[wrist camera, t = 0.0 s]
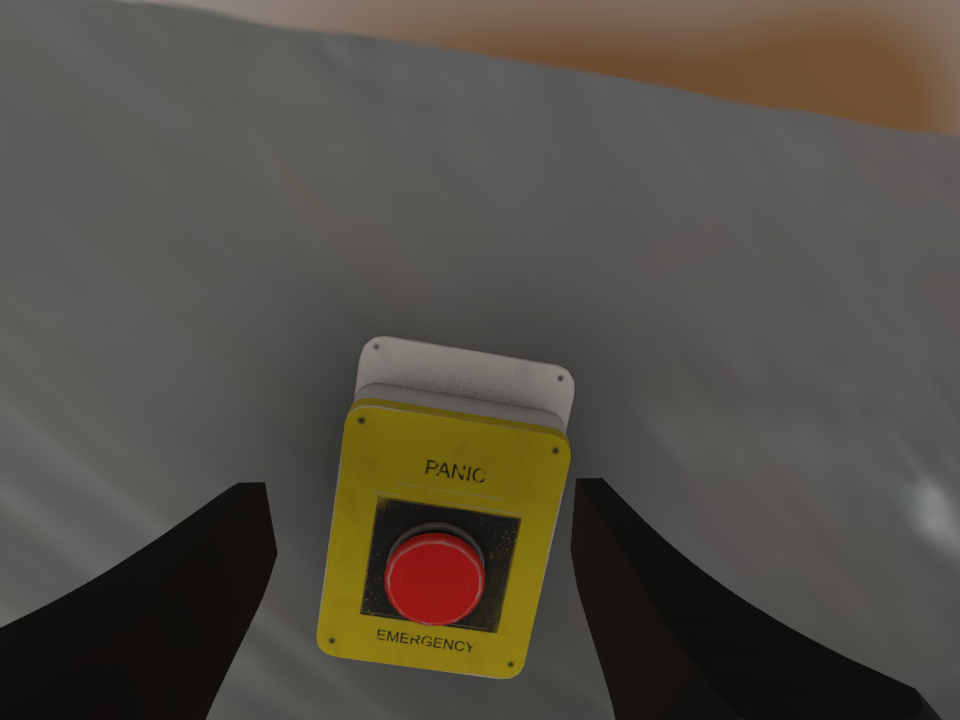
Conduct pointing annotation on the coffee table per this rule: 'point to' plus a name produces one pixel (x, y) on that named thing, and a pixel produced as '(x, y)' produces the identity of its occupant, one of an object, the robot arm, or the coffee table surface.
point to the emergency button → (444, 508)
